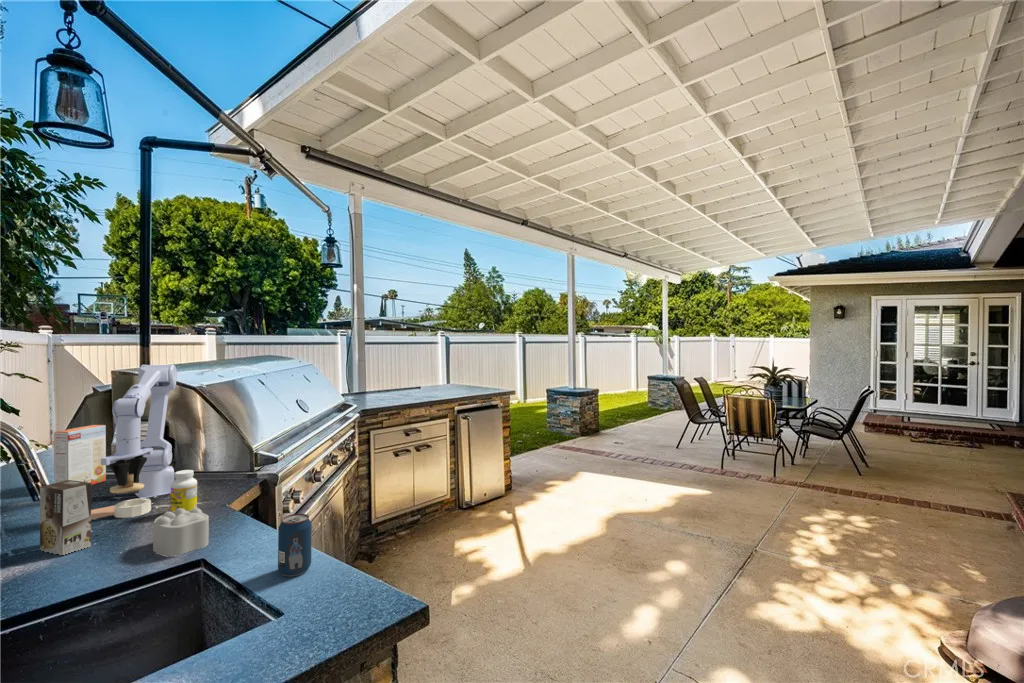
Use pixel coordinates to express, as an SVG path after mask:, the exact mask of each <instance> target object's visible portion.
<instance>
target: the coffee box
mask: <svg viewBox="0 0 1024 683" xmlns="http://www.w3.org/2000/svg"><path fill="white" fill-rule="evenodd" d="M92 487H93V485H92V483H88V482H81V481H73V480H67V481H62V482H58V483H51V484H47V485H46V484H45V485H42V486H40V487H39V551H40V550H41V551H40V552H42V551H44V552H43V553H47V552H49V553H48V554H51V553H53V555H56V554H59V555H58V556H61V555H64V556H66V555H65V554H67V555H69V554H68V553H70V554H72V553H71V552H73V553H75V552H74V551H76V552H79V551H81V549H82V550H85V549H87V547H88V548H91V546H92V520H91V510H92V498H93V497H92V496H93V494H92V490H93V488H92ZM84 548H85V549H84ZM78 550H79V551H78Z"/></svg>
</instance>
